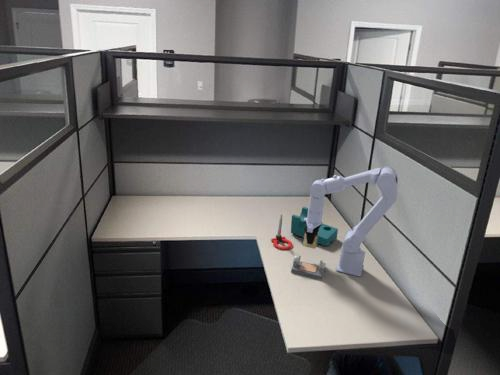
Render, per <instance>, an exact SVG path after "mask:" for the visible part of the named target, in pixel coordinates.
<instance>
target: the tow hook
mask: <svg viewBox="0 0 500 375" xmlns="http://www.w3.org/2000/svg"><path fill="white" fill-rule="evenodd" d="M278 221H279V223H278V230H277V234H275V237H273V238H270V241H271V242H272V246H273V247H275V248H276V249H278V250H281V251H288V250H291V249H292V248H293V246H294V244H293V242H292V241H291V240H289V239H287V238H286V236H282V226H283V214H280V218H279V220H278ZM279 242H283V243H287V244H288V245H287V246H280V245H278V243H279Z"/></svg>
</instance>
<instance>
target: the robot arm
mask: <svg viewBox="0 0 500 375" xmlns="http://www.w3.org/2000/svg"><path fill="white" fill-rule="evenodd" d="M398 182H399V177H398V175H397V172H396V170H395V169H394V168H393V167H392V166H389V165H388V166H383V167H376V168H373V169H369V170H366V171H363V172H359V173H356V174H352V175H349V176H347V177H344V176H343V175H337V174H335V175H333V176H332V177H329V178H321V179H317V180H315V181H314V182H313V183H312V185H311V186H310V188H309V201H308V207H307V208H308V215H307V218H304V221H306V223H307V226H305V227H304V230H305V233H306V236H307V243H308V244H313V242H314V239H315V236H316V234H317V233H318V231H319V228H320V227H321V225H322V223H323V221H322V220H323V213H324V205H325V196H326V195H329V194H334V193H339V192H342V191H343V192H344V191H345V189H346V188H347V187H350V186H356V185H360V184H366V183H367V184H370V185H371V186H374V187H375V186H376V185H377V187H378V189H379V190H380V193H381V197H380V198H379V199H378V200H377V201H376V203H374V205H373V206H372V207H371V209H370V210H368V212H367V213H366V214H365V215H364V217H363V218H362V219H360V222H359V223H358V224H356V225H355V226H354V227H353V228H351V229H349V230H347V231H346V233H345V237H344V240H343V242H342V245H341V249H340V254H339V256H340V257H339V260H338V263H337V266H336V269H335V271H336V272H340V273H344V274H347V275H352V276H355V277H356V276H357V277H361V276H362V272H363V269H364V261H365V257H366V251H364V250H362V248H361V244H362V243H363V242H364V240H365V239H366V236H367V235H368V234H369V233H370V231H371V230H372V229H373V228H374V227H375V225H377V224H378V223H379V221H380V220H381V219H382V218H383V216H384V215H385V214H386V213H387V212H388V211H389V210H390V208H392V206H393V205H394V204H395V203H396V201H397V198H398V185H399V184H398Z"/></svg>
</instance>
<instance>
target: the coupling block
mask: <svg viewBox="0 0 500 375" xmlns="http://www.w3.org/2000/svg"><path fill="white" fill-rule="evenodd" d="M318 235H319V233H317V234H316V236H315V239H314V242H313V244H308V243H307V236H306V233H305V234H304V238H303V243H302V246H303V247H306V248H311V249H316V248H317V246H318V243H317V242H318Z"/></svg>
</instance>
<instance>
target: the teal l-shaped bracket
mask: <svg viewBox="0 0 500 375" xmlns="http://www.w3.org/2000/svg"><path fill="white" fill-rule="evenodd" d="M307 215H308V207H306V206H302V208H301V212H300V215H296V214H294V213H293V214H292V215H291V227H290V233H291V234H294V235H296V236H298V237H301V238H303V239H304V234H305V230H304V227H305V226H307V223H306V221H304V218H307ZM338 231H339V228H337V227H334V226H332V225H328V224H325V223H323V222H322V225H321V227H320V228H319V231H318V233H319V235H318V242H317V244H320V245H322V246H325V247H327V246H328V245H329V244H332V243H334V242H335V241H336V240H337V238H338Z"/></svg>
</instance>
